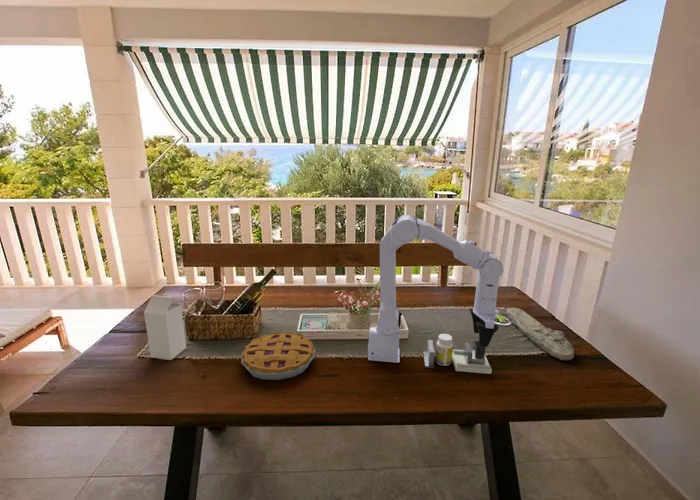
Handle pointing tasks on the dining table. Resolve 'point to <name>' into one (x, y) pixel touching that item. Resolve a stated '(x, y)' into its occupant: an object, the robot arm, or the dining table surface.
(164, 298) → the milk carton
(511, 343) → the dining table surface
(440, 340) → the supplement bottle
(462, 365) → the bed
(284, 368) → the pie
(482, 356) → the grey boxy piece
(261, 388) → the dining table surface
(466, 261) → the robot arm
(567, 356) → the long grey stone
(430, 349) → the jaw
